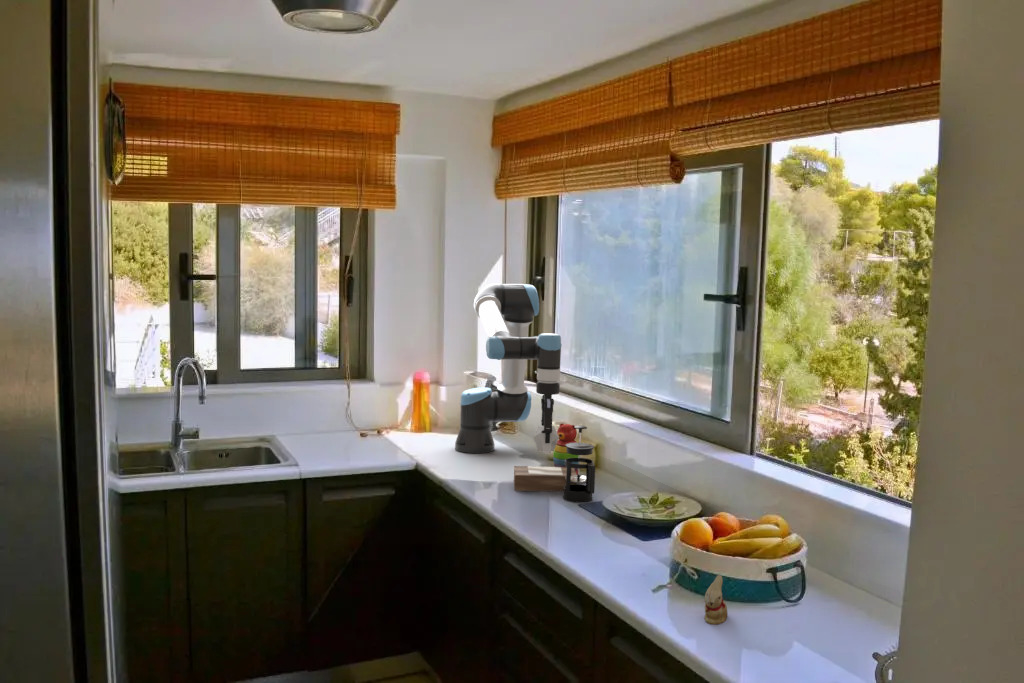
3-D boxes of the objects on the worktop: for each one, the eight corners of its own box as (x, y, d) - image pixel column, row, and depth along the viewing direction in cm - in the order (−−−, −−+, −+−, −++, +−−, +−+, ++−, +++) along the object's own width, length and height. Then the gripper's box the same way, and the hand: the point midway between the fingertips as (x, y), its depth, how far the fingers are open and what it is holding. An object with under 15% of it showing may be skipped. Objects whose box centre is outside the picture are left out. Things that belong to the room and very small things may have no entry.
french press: (555, 496, 285) (557, 424, 282) (576, 492, 291) (579, 421, 288) (581, 505, 276) (583, 431, 273) (602, 500, 282) (605, 428, 279)
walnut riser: (513, 480, 303) (514, 465, 302) (573, 481, 303) (573, 466, 303) (514, 490, 291) (515, 474, 290) (576, 491, 291) (577, 475, 291)
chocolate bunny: (693, 618, 194) (695, 573, 193) (718, 610, 199) (720, 566, 198) (712, 627, 190) (714, 581, 189) (737, 619, 194) (740, 574, 193)
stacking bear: (543, 474, 312) (545, 423, 310) (562, 469, 319) (564, 420, 317) (568, 480, 305) (570, 428, 303) (586, 475, 312) (588, 424, 310)
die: (550, 456, 290) (566, 431, 292) (527, 441, 291) (543, 416, 293) (548, 459, 297) (564, 435, 300) (526, 445, 298) (542, 421, 301)
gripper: (535, 376, 304) (532, 441, 306) (538, 386, 282) (535, 456, 284) (557, 376, 304) (555, 442, 307) (562, 386, 282) (559, 457, 285)
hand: (545, 449), depth 295 cm, fingers closed on die, 9 cm apart
